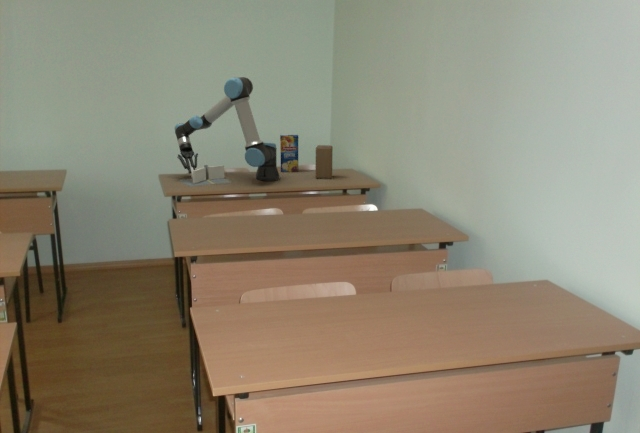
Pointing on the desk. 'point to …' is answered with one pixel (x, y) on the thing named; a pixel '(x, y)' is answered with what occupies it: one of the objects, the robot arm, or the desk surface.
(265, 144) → the robot arm
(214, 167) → the fence
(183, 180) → the card
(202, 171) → the hinged panel
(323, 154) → the wooden block
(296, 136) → the juice carton
